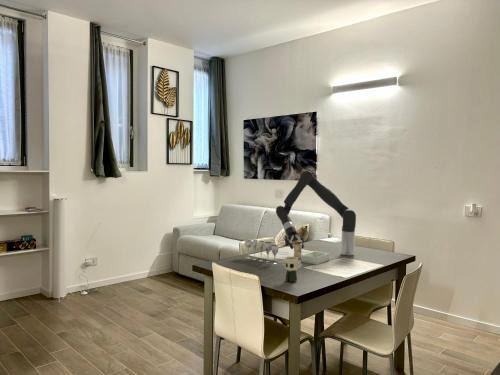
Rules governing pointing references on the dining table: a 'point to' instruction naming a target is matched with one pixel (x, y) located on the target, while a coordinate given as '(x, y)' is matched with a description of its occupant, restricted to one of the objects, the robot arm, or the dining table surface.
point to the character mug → (291, 268)
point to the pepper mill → (297, 249)
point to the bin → (315, 257)
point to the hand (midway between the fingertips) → (297, 248)
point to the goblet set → (261, 248)
